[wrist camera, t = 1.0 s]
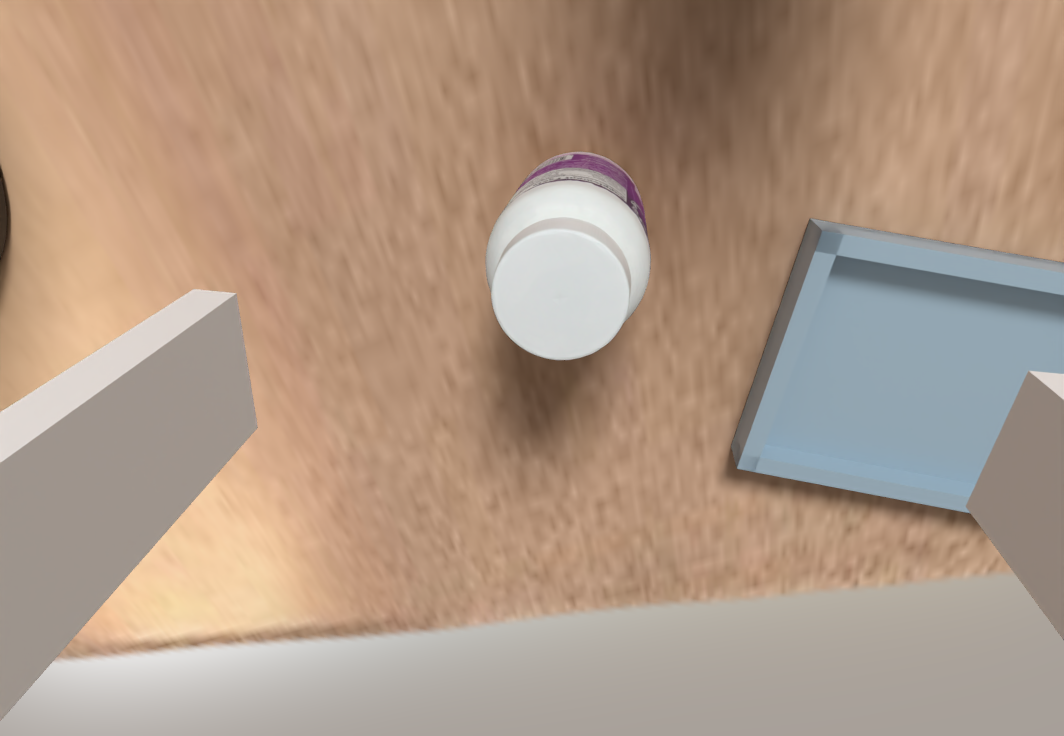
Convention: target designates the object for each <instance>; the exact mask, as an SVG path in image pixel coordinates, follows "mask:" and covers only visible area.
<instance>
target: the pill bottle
mask: <svg viewBox="0 0 1064 736" xmlns="http://www.w3.org/2000/svg"><path fill="white" fill-rule="evenodd" d="M650 264H651V254H650V246H649V241H648V235H647V228H646V220H645V211H644V207H643V203H642V199H641V196H640V193H639V191H638V189H637V187H636V185H635V183H634V182H633V180H632V179H631V177H630V176H629V175H628V174H627V173H626V172H625V171H624V170H623V169H622V168H621V167H620V166H618V165H617V164H616V163H614V162H613V161H611V160H610V159H608V158H606V157H604V156H601V155H597V154H594V153H588V152H569V153H564V154H560V155H557V156H554V157H552V158H550V159H548V160H546V161H545V162H543V163H542V164H540V165H539V166H538V167H537V168H535V169H534V170H533V171H532V172H531V173H530V174H529V175H528V176H527V178H526V179H525V180H524V182H523V183H522V184H521V186H520V187H519V188H518V190H517V191H516V193H515V194H514V196H513V197H512V198H511V200H510V201H509V203H508V204H507V206H506V207H505V209H504V210H503V211H502V213H501V214H500V216H499V217H498V219H497V221H496V223H495V225H494V228H493V230H492V232H491V235H490V238H489V241H488V245H487V250H486V276H487V281H488V285H489V288H490V291H491V299H492V306H493V310H494V313H495V316H496V318H497V320H498V322H499V324H500V326H501V328H502V329H503V331H504V332H505V333H506V334H507V336H508V337H509V338H510V339H511V340H512V341H513V342H515V343H516V344H517V345H518V346H519V347H521V348H523V349H524V350H526V351H528V352H530V353H532V354H534V355H537V356H539V357H542V358H546V359H551V360H572V359H578V358H581V357H584V356H587V355H590V354H593V353H594V352H596V351H598V350H599V349H601V348H602V347H604V346H605V345H606V344H608V343H609V342H610V341H611V340H612V339H613V338H614V337H615V335H616V334H617V333H618V331H619V330H620V328H621V327H622V325H623V323H624V322H625V321H626V320H627V319H628V318H629V317H630V316H631V315H632V313H633V312H634V311H635V309H636V308H637V306H638V305H639V303H640V301H641V300H642V298H643V295H644V293H645V290H646V287H647V284H648V280H649V275H650V269H651V268H650Z"/></svg>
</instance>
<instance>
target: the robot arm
mask: <svg viewBox="0 0 1064 736" xmlns="http://www.w3.org/2000/svg"><path fill="white" fill-rule="evenodd" d="M6 230H7V213H6V202H5V195H4V189H3V184H2V180H1V176H0V259H1V256H2V253H3V249H4V245H5V239H6ZM257 428H258V426H257V420H256V414H255V407H254V401H253V395H252V389H251V382H250V376H249V370H248V363H247V357H246V351H245V345H244V338H243V332H242V326H241V319H240V313H239V307H238V301H237V294H236V293H228V292H218V291H208V290H198V289H193V290H192V291H190V292H189V293H187V294H185V295H184V296H182V297H181V298H179V299H177V300H176V301H174V302H173V303H171V304H170V305H168V306H166V307H165V308H163V309H162V310H160V311H159V312H157V313H155V314H154V315H152V316H151V317H149V318H148V319H146V320H144V321H143V322H141V323H140V324H138V325H137V326H135V327H133V328H132V329H130V330H129V331H127V332H126V333H124V334H122V335H121V336H119V337H118V338H116V339H115V340H113V341H111V342H110V343H108V344H107V345H105V346H104V347H102V348H100V349H99V350H97V351H96V352H94V353H93V354H91V355H89V356H88V357H86V358H85V359H83V360H81V361H80V362H78V363H77V364H75V365H74V366H72V367H70V368H69V369H67V370H66V371H64V372H63V373H61V374H59V375H58V376H56V377H55V378H53V379H52V380H50V381H48V382H47V383H45V384H44V385H42V386H41V387H39V388H37V389H36V390H34V391H33V392H31V393H30V394H28V395H26V396H25V397H23V398H22V399H20V400H19V401H17V402H15V403H14V404H12V405H11V406H9V407H8V408H6V409H4V410H3V411H1V412H0V721H1V720H2V719H3V718H4V716H5V715H6V714H7V713H8V712H9V711H10V710H11V708H12V707H13V706H14V705H15V704H16V703H17V702H18V700H19V699H20V698H21V697H22V696H23V695H24V694H25V693H26V691H27V690H28V689H29V688H30V687H31V686H32V684H33V683H34V682H35V681H36V680H37V679H38V678H39V677H40V675H41V674H42V673H43V672H44V671H45V670H46V668H47V667H48V666H49V665H50V664H51V663H52V662H53V661H54V659H55V658H56V657H57V656H58V655H59V654H60V653H61V651H62V650H63V649H64V648H65V647H66V646H67V645H68V643H69V642H70V641H71V640H72V639H73V638H74V637H75V635H76V634H77V633H78V632H79V631H80V630H81V629H82V627H83V626H84V625H85V624H86V623H87V622H88V621H89V619H90V618H91V617H92V616H93V615H94V614H95V613H96V611H97V610H98V609H99V608H100V607H101V606H102V605H103V603H104V602H105V601H106V600H107V599H108V598H109V597H110V596H111V594H112V593H113V592H114V591H115V590H116V589H117V588H118V586H119V585H120V584H121V583H122V582H123V581H124V580H125V578H126V577H127V576H128V575H129V574H130V573H131V572H132V570H133V569H134V568H135V567H136V566H137V565H138V564H139V562H140V561H141V560H142V559H143V558H144V557H145V556H146V554H147V553H148V552H149V551H150V550H151V549H152V548H153V546H154V545H155V544H156V543H157V542H158V541H159V540H160V538H161V537H162V536H163V535H164V534H165V533H166V532H167V530H168V529H169V528H170V527H171V526H172V525H173V524H174V522H175V521H176V520H177V519H178V518H179V517H180V516H181V514H182V513H183V512H184V511H185V510H186V509H187V508H188V506H189V505H190V504H191V503H192V502H193V501H194V500H195V499H196V497H197V496H198V495H199V494H200V493H201V492H202V491H203V489H204V488H205V487H206V486H207V485H208V484H209V483H210V481H211V480H212V479H213V478H214V477H215V476H216V475H217V473H218V472H219V471H220V470H221V469H222V468H223V467H224V465H225V464H226V463H227V462H228V461H229V460H230V459H231V457H232V456H233V455H234V454H235V453H236V452H237V451H238V449H239V448H240V447H241V446H242V445H243V444H244V443H245V441H246V440H247V439H248V438H249V437H250V436H251V435H252V433H253V432H254V431H255V430H256V429H257ZM966 508H967V509H968V510H969V512H970V513H971V514H972V516H973V517H974V519H975V520H976V521H977V523H978V524H979V525H980V527H981V528H982V529H983V531H984V532H985V534H986V535H987V536H988V538H989V539H990V540H991V542H992V543H993V544H994V546H995V547H996V549H997V550H998V551H999V553H1000V554H1001V555H1002V557H1003V558H1004V559H1005V561H1006V562H1007V564H1008V565H1009V566H1010V568H1011V569H1012V570H1013V572H1014V573H1015V574H1016V576H1017V577H1018V579H1019V580H1020V581H1021V583H1022V584H1023V585H1024V587H1025V588H1026V589H1027V591H1028V592H1029V594H1030V595H1031V596H1032V598H1033V599H1034V600H1035V602H1036V603H1037V604H1038V606H1039V607H1040V609H1041V610H1042V611H1043V613H1044V614H1045V615H1046V616H1047V618H1048V619H1049V621H1050V622H1051V623H1052V625H1053V626H1054V628H1055V629H1056V630H1057V632H1058V633H1059V634H1060V636H1061V637H1062V638H1063V640H1064V374H1058V373H1048V372H1038V371H1028V373H1027V375H1026V377H1025V379H1024V381H1023V384H1022V386H1021V388H1020V390H1019V392H1018V394H1017V396H1016V399H1015V401H1014V403H1013V405H1012V407H1011V409H1010V412H1009V414H1008V416H1007V418H1006V420H1005V422H1004V425H1003V427H1002V429H1001V431H1000V433H999V435H998V437H997V440H996V442H995V444H994V446H993V448H992V450H991V453H990V455H989V457H988V459H987V461H986V463H985V466H984V468H983V470H982V472H981V474H980V476H979V478H978V481H977V483H976V485H975V487H974V489H973V491H972V494H971V496H970V498H969V500H968V502H967V504H966Z"/></svg>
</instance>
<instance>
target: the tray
mask: <svg viewBox="0 0 1064 736" xmlns="http://www.w3.org/2000/svg"><path fill="white" fill-rule="evenodd" d="M1028 371H1038V372H1048V373H1058V374H1064V263H1063V262H1057V261H1051V260H1045V259H1040V258H1034V257H1028V256H1022V255H1017V254H1011V253H1005V252H1000V251H994V250H988V249H982V248H977V247H971V246H965V245H959V244H954V243H948V242H942V241H937V240H931V239H925V238H919V237H914V236H908V235H902V234H896V233H891V232H885V231H879V230H874V229H868V228H862V227H856V226H851V225H845V224H839V223H833V222H828V221H822V220H816V219H811V218H810V221H809V223H808V226H807V229H806V232H805V235H804V238H803V241H802V244H801V246H800V249H799V252H798V255H797V258H796V261H795V264H794V267H793V269H792V272H791V275H790V278H789V281H788V284H787V287H786V290H785V292H784V295H783V298H782V301H781V304H780V307H779V310H778V313H777V315H776V318H775V321H774V324H773V327H772V330H771V333H770V336H769V339H768V341H767V344H766V347H765V350H764V353H763V356H762V359H761V362H760V364H759V367H758V370H757V373H756V376H755V379H754V382H753V385H752V387H751V390H750V393H749V396H748V399H747V402H746V405H745V408H744V410H743V413H742V416H741V419H740V422H739V425H738V428H737V431H736V433H735V436H734V439H733V442H732V445H731V448H732V452H733V456H734V460H735V464H736V467H737V469H741V470H746V471H751V472H757V473H762V474H767V475H772V476H778V477H783V478H788V479H793V480H799V481H804V482H809V483H814V484H820V485H825V486H830V487H835V488H841V489H846V490H851V491H856V492H862V493H867V494H872V495H877V496H883V497H888V498H893V499H898V500H904V501H909V502H914V503H919V504H925V505H930V506H935V507H940V508H946V509H951V510H956V511H961V512H967V513H970V512H969V510H968V509H967V508H966V504H967V502H968V500H969V498H970V496H971V494H972V491H973V489H974V487H975V485H976V483H977V481H978V478H979V476H980V474H981V472H982V470H983V468H984V466H985V463H986V461H987V459H988V457H989V455H990V453H991V450H992V448H993V446H994V444H995V442H996V440H997V437H998V435H999V433H1000V431H1001V429H1002V427H1003V425H1004V422H1005V420H1006V418H1007V416H1008V414H1009V412H1010V409H1011V407H1012V405H1013V403H1014V401H1015V399H1016V396H1017V394H1018V392H1019V390H1020V388H1021V386H1022V384H1023V381H1024V379H1025V377H1026V375H1027V373H1028Z"/></svg>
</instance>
